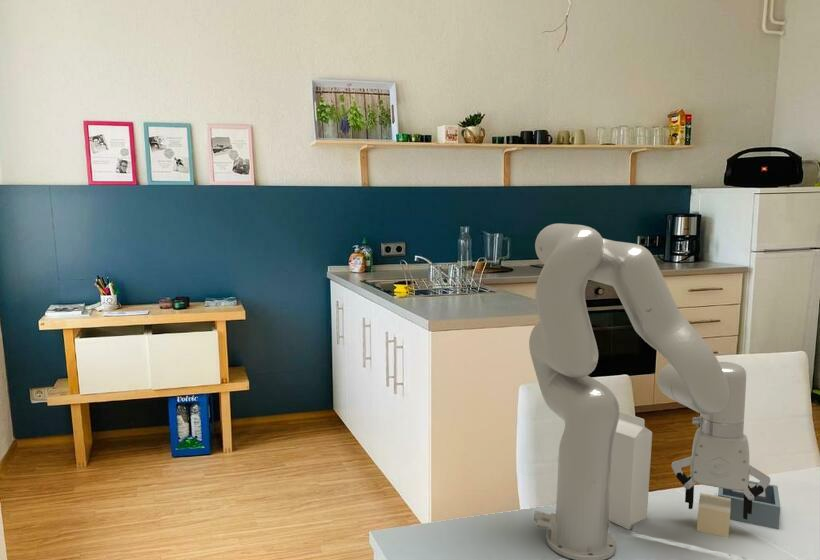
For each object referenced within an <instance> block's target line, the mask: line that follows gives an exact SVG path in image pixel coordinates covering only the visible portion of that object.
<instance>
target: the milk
mask: <svg viewBox="0 0 820 560" xmlns="http://www.w3.org/2000/svg"><path fill="white" fill-rule="evenodd" d="M645 424H646V423H645V419H644V418H641V417H638V416H635V415H632V414H629V413H626V412H623V411H620V414H619V421H618V425H617V429H616V433H615V437H614V442H613V450H612V464H611V484H610V502H609V519H608V522H611V523H612V524H615V525H617V526H620V527H622V528H623V529H624V528H625V529H626V530H628V531H629V530H630V531H631V530H632V529H633V527H634V525H635V524H636V523H639V522H640V521H643V520H645V519H646V518H648V505H649V487H650V477H651V475H650V474H651V458H652V456H651V455H652V443H653V442H652V441H653V431H651V430H650V428H649V429H648V427H646V425H645Z"/></svg>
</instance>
